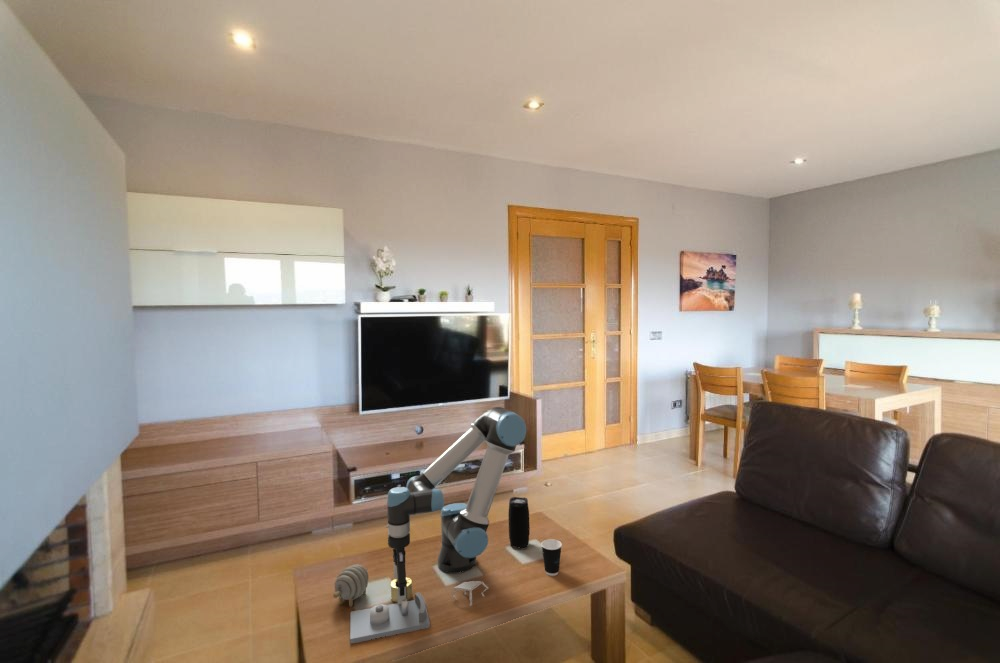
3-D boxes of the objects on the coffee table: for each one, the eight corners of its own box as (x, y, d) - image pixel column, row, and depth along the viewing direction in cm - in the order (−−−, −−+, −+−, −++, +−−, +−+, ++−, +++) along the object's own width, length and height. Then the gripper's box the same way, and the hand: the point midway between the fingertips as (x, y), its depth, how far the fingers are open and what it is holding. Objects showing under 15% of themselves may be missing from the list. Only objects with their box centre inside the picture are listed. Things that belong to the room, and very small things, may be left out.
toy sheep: (377, 588, 176) (376, 558, 176) (351, 616, 160) (350, 583, 159) (351, 584, 179) (350, 555, 178) (323, 612, 163) (322, 579, 162)
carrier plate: (424, 602, 167) (423, 587, 167) (429, 627, 153) (429, 611, 153) (350, 616, 160) (350, 600, 160) (350, 643, 147) (349, 626, 146)
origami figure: (462, 611, 162) (462, 596, 162) (450, 599, 169) (450, 585, 168) (492, 598, 169) (492, 584, 168) (479, 587, 175) (479, 573, 175)
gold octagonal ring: (410, 589, 175) (410, 575, 175) (412, 600, 168) (412, 586, 168) (390, 592, 173) (390, 579, 173) (392, 604, 166) (391, 589, 166)
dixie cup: (562, 578, 180) (562, 549, 179) (541, 577, 181) (540, 548, 180) (562, 567, 188) (561, 539, 187) (541, 566, 189) (541, 538, 188)
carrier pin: (407, 611, 159) (407, 598, 159) (408, 615, 157) (408, 601, 157) (401, 613, 159) (401, 599, 159) (402, 616, 157) (401, 603, 157)
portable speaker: (531, 541, 209) (530, 496, 209) (526, 551, 200) (525, 505, 200) (512, 539, 212) (511, 494, 211) (506, 549, 203) (505, 503, 202)
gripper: (385, 519, 181) (385, 574, 182) (391, 552, 156) (392, 615, 157) (405, 516, 183) (406, 571, 184) (414, 548, 159) (415, 611, 160)
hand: (399, 592), depth 171 cm, fingers open, 14 cm apart
